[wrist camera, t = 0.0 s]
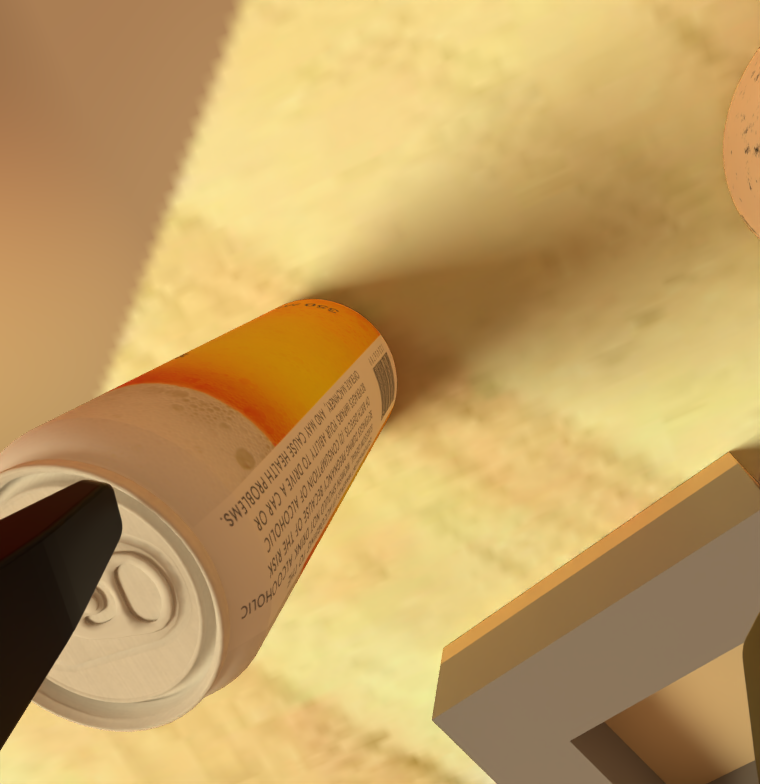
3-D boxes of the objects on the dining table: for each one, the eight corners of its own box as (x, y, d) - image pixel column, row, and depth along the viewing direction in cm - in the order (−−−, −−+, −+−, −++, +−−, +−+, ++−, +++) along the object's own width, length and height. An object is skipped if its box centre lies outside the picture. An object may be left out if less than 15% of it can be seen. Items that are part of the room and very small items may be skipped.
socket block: (659, 862, 29) (680, 962, 25) (443, 648, 28) (431, 719, 24) (975, 717, 24) (1061, 816, 20) (729, 451, 23) (770, 503, 19)
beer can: (228, 318, 25) (-134, 482, 11) (373, 276, 24) (164, 404, 10) (279, 459, 27) (14, 761, 13) (419, 428, 25) (296, 736, 11)
